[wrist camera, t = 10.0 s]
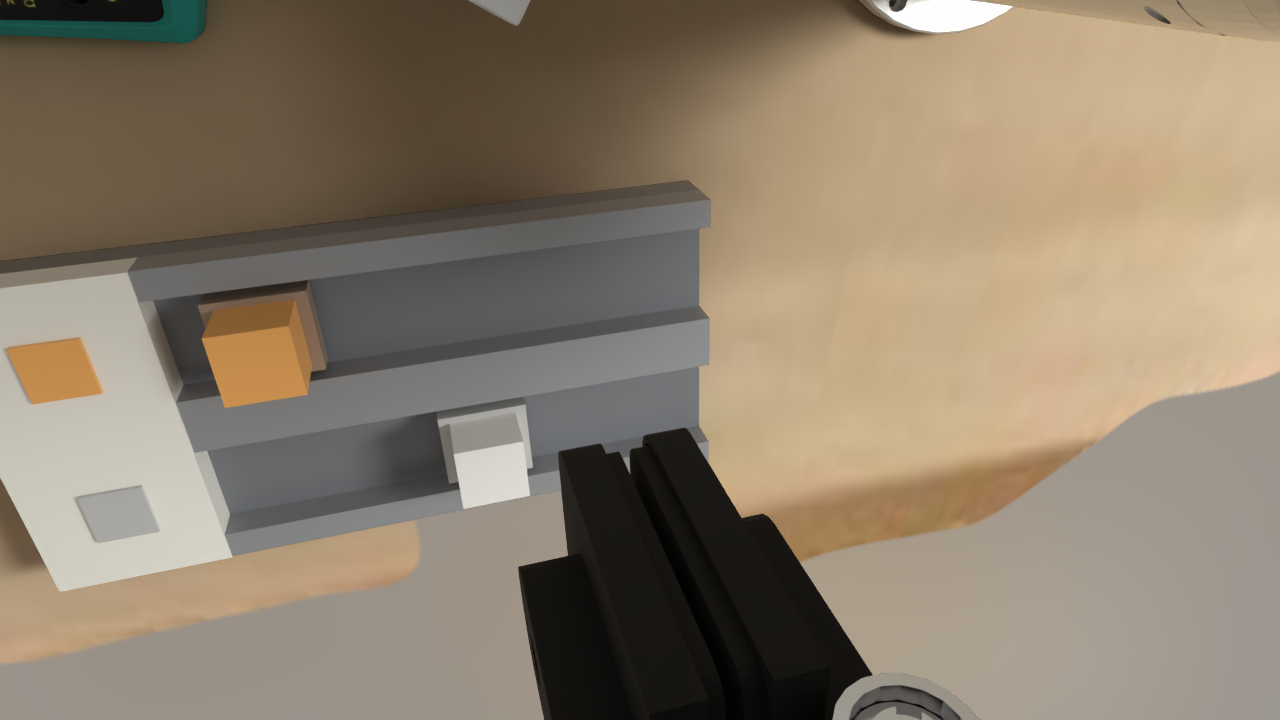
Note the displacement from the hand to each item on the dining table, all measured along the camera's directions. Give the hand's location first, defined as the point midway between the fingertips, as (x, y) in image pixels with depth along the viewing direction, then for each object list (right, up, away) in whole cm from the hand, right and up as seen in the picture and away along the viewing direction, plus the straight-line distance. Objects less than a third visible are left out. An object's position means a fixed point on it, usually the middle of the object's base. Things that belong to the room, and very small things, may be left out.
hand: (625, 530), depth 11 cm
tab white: (-7, -1, +28) cm, 29 cm away
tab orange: (-15, +4, +23) cm, 28 cm away
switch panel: (-12, +2, +27) cm, 30 cm away
